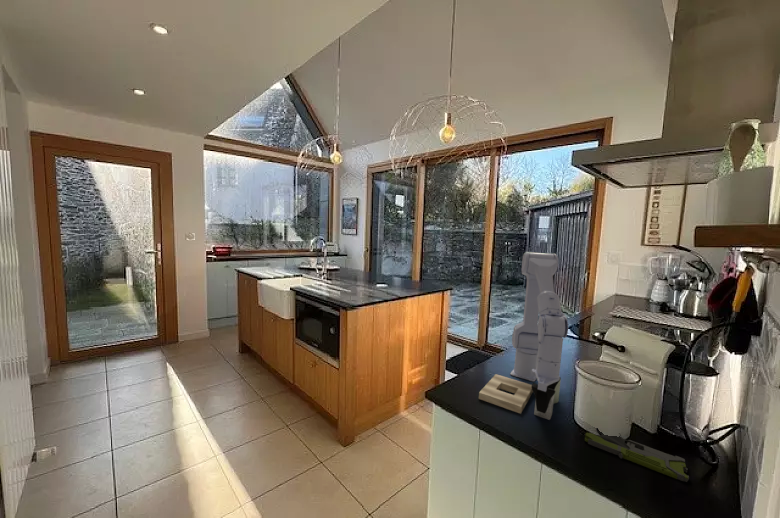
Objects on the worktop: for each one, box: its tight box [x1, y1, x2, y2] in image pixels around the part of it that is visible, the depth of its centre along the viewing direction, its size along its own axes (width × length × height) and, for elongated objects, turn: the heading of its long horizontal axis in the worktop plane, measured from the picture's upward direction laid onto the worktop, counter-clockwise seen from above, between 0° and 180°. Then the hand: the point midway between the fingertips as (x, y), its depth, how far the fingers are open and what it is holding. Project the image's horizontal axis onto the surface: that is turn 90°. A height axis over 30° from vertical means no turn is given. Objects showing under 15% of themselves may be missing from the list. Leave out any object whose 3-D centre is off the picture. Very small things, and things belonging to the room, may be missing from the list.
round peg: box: [553, 378, 562, 404], centre depth 99 cm, size 6×6×7 cm
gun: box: [584, 429, 690, 483], centre depth 79 cm, size 2×19×15 cm
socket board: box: [478, 373, 534, 415], centre depth 100 cm, size 16×12×2 cm
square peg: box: [533, 388, 555, 421], centre depth 91 cm, size 4×4×7 cm
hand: (544, 405), depth 91 cm, fingers open, 7 cm apart
